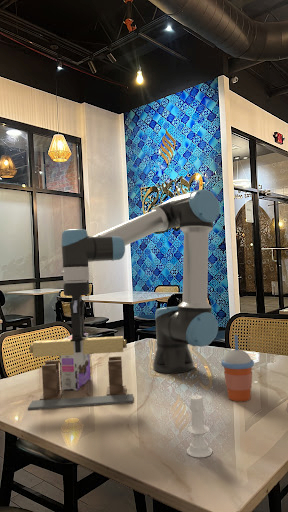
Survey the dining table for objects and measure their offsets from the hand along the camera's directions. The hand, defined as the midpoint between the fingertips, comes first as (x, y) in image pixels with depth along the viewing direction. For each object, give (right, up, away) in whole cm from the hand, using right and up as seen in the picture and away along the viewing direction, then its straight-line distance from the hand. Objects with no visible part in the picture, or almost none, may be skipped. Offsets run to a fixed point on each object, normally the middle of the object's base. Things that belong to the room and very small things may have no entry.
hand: (79, 361), depth 122 cm
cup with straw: (+46, -10, -3) cm, 47 cm away
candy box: (-4, -13, +19) cm, 23 cm away
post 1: (-10, -13, +7) cm, 17 cm away
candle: (+30, -10, -35) cm, 48 cm away
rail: (0, +2, 0) cm, 2 cm away
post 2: (+10, -12, +8) cm, 17 cm away
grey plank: (+1, -12, 0) cm, 12 cm away
